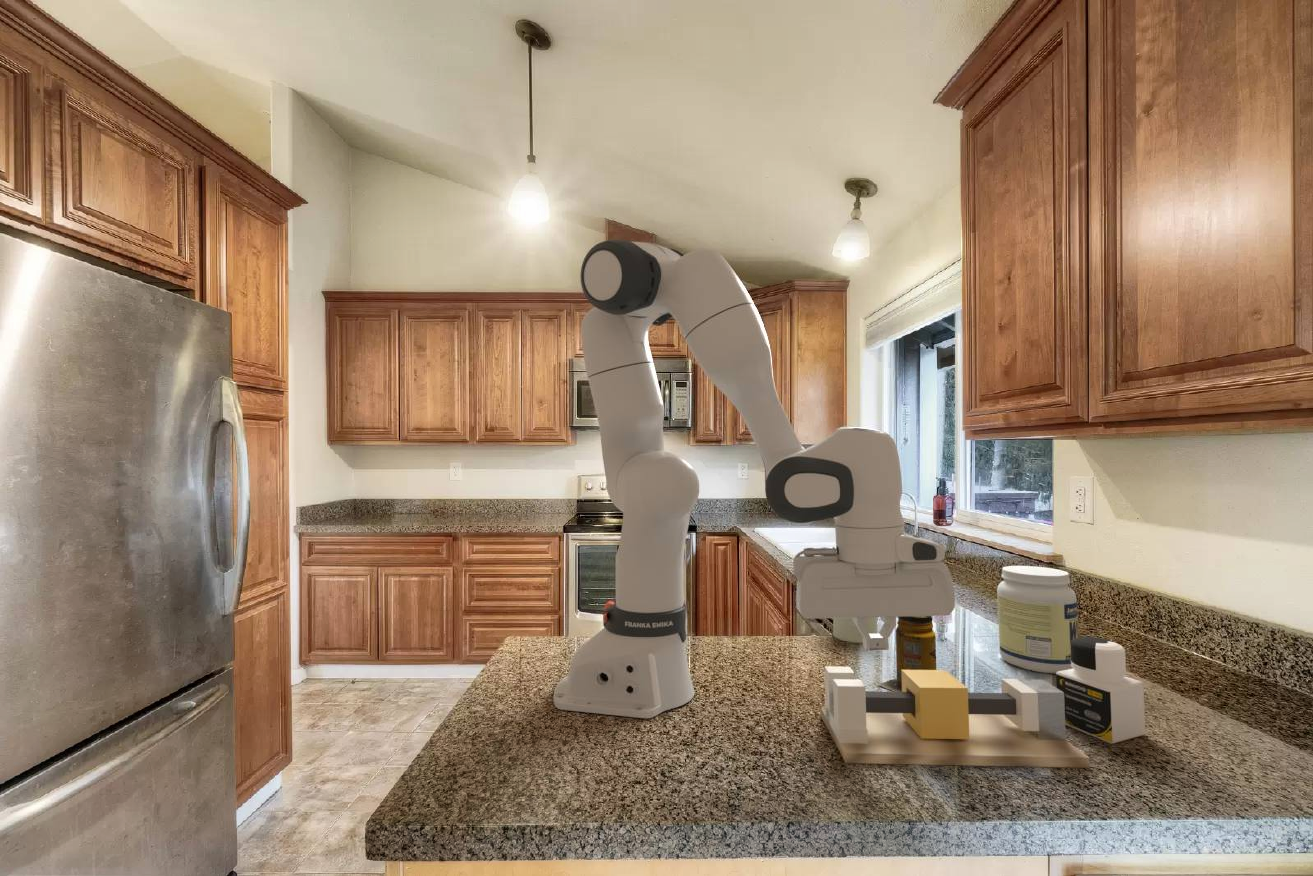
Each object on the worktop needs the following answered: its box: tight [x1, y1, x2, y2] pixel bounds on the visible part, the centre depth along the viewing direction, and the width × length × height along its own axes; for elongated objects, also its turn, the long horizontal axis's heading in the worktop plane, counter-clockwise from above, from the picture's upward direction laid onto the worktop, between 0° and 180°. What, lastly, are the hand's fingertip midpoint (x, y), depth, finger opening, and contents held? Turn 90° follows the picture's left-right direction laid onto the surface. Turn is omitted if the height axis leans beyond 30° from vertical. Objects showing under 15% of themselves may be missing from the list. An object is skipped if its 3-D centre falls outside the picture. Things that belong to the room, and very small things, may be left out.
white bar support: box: [824, 665, 868, 744], centre depth 77 cm, size 4×8×7 cm, turn 177°
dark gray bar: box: [833, 690, 1016, 715], centre depth 77 cm, size 26×2×2 cm, turn 87°
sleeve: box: [901, 669, 969, 739], centre depth 77 cm, size 6×6×6 cm
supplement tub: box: [996, 565, 1079, 674], centre depth 105 cm, size 12×12×17 cm
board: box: [820, 707, 1091, 769], centre depth 76 cm, size 29×13×1 cm, turn 87°
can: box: [832, 617, 879, 644], centre depth 122 cm, size 9×9×12 cm
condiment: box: [877, 616, 937, 692], centre depth 94 cm, size 7×8×12 cm
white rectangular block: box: [1000, 678, 1039, 731], centre depth 76 cm, size 2×5×5 cm, turn 177°
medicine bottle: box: [1055, 636, 1146, 745], centre depth 79 cm, size 7×7×12 cm
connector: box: [1016, 678, 1067, 741], centre depth 76 cm, size 3×4×6 cm
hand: (875, 649), depth 77 cm, fingers closed
